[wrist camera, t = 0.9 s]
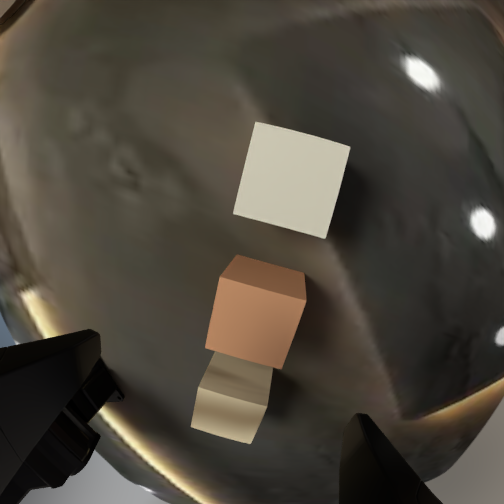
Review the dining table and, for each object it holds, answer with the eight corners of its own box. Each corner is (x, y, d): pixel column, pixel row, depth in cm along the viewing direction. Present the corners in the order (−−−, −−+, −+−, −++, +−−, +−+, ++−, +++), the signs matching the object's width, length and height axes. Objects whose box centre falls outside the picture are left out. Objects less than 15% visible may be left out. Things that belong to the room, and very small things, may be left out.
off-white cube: (317, 224, 20) (325, 239, 15) (247, 205, 20) (233, 213, 15) (336, 154, 18) (350, 146, 14) (264, 135, 19) (255, 121, 14)
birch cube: (258, 404, 24) (250, 444, 20) (206, 390, 25) (190, 426, 20) (273, 366, 23) (267, 406, 18) (215, 349, 23) (198, 386, 19)
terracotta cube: (284, 331, 22) (281, 369, 17) (223, 313, 22) (205, 347, 18) (304, 272, 21) (306, 300, 16) (236, 254, 21) (220, 276, 16)
